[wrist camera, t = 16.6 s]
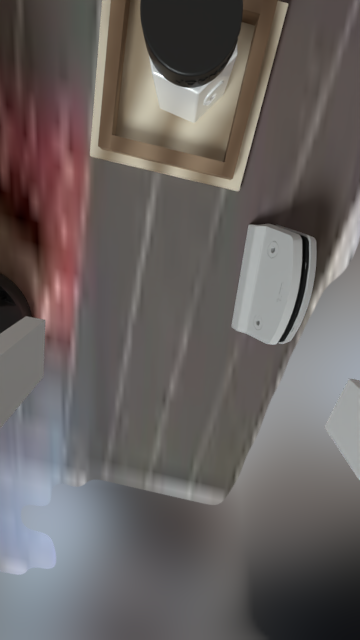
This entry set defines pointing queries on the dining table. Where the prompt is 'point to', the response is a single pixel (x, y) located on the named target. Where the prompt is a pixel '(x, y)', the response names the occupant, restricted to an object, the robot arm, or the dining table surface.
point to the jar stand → (166, 128)
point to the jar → (191, 51)
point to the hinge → (274, 283)
